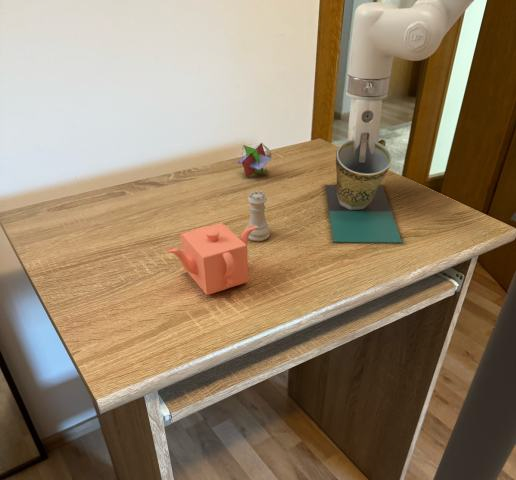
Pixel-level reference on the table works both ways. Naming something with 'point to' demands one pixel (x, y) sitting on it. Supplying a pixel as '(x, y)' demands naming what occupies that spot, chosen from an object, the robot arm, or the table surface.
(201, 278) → the teapot
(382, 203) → the plate
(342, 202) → the ceramic cup
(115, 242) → the table surface
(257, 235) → the rook chess piece
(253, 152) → the geometric puzzle
